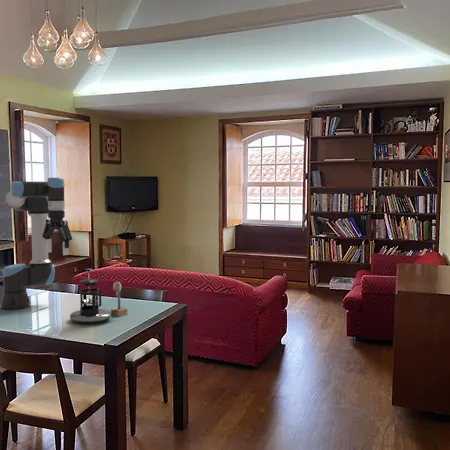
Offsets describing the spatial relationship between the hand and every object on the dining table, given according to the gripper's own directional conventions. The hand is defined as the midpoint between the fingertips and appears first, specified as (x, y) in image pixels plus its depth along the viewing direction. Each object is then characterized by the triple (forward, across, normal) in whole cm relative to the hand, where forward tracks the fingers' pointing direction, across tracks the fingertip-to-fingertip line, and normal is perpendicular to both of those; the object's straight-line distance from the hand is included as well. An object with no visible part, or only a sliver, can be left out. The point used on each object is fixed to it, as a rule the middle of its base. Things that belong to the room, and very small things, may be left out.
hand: (57, 253), depth 228 cm
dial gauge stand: (+35, +10, +30) cm, 47 cm away
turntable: (+33, +7, +14) cm, 36 cm away
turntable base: (+35, +7, +14) cm, 38 cm away
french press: (+32, +7, +14) cm, 35 cm away
